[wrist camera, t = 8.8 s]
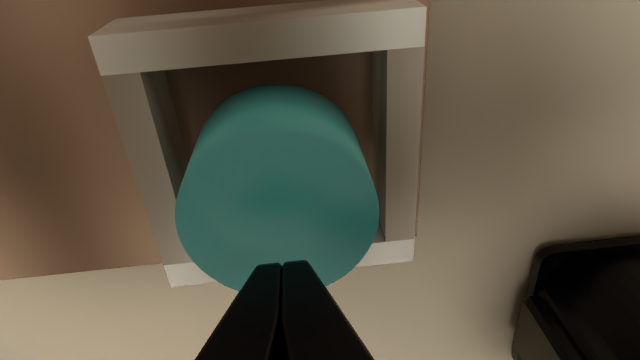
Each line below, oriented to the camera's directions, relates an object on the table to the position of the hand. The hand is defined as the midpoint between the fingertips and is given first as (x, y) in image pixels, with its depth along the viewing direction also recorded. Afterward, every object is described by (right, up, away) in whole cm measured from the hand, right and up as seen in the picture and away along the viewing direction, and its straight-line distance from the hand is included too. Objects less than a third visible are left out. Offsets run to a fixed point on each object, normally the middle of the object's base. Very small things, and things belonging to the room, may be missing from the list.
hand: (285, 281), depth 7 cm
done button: (0, +2, +3) cm, 4 cm away
